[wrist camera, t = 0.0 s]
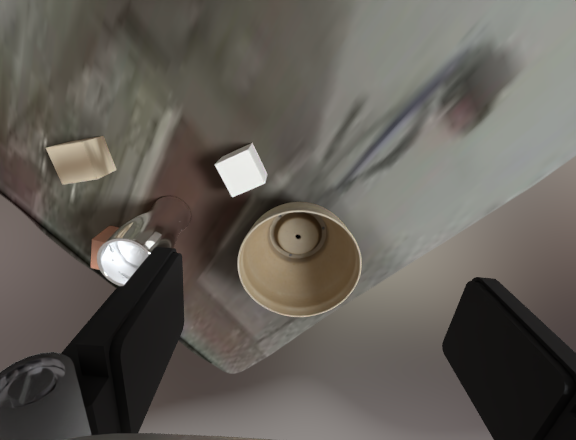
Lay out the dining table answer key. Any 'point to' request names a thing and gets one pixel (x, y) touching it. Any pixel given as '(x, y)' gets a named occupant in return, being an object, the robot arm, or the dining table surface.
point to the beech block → (81, 160)
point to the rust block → (100, 243)
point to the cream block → (241, 170)
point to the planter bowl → (299, 260)
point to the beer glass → (142, 238)
